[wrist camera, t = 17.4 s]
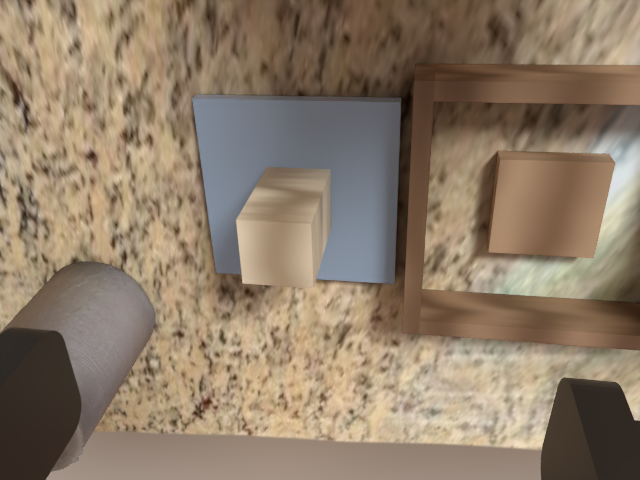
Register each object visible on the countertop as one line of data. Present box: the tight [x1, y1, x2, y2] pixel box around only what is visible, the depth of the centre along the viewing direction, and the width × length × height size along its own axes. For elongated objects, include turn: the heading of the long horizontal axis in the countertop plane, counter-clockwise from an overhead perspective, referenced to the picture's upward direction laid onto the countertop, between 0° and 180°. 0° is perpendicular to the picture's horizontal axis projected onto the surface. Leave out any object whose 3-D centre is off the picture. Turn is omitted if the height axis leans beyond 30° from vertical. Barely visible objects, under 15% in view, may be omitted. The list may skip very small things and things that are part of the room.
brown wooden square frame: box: [402, 64, 640, 350], centre depth 40 cm, size 18×18×4 cm
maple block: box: [236, 167, 332, 288], centre depth 40 cm, size 4×4×8 cm
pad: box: [192, 94, 402, 284], centre depth 44 cm, size 14×14×1 cm
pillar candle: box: [0, 262, 155, 471], centre depth 47 cm, size 10×10×15 cm
